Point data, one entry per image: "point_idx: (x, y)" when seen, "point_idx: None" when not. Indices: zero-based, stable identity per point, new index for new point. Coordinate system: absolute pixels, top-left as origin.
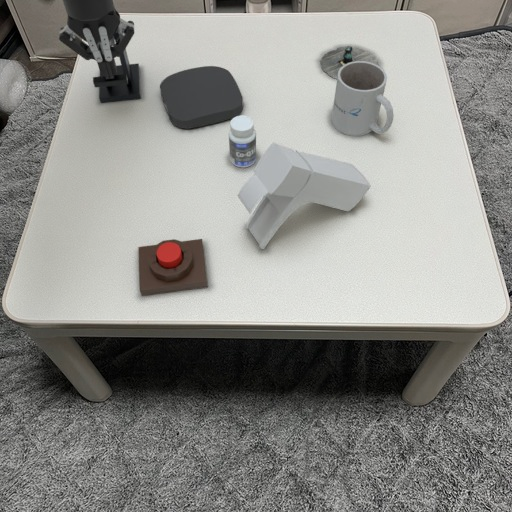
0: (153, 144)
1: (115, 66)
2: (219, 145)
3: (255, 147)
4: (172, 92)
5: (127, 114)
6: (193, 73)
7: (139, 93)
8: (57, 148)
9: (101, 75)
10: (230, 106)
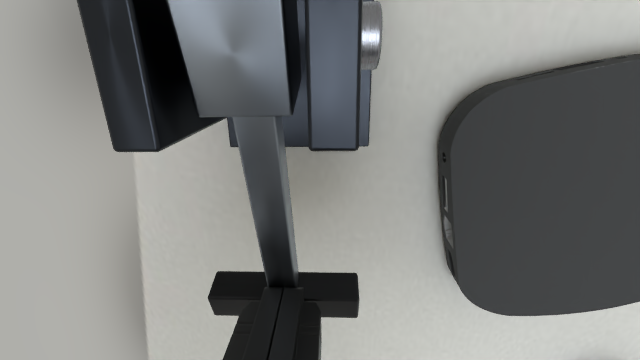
0: (386, 318)
1: (320, 356)
2: (545, 344)
3: None
4: (491, 203)
5: (322, 205)
6: (606, 105)
7: (367, 144)
8: (151, 294)
9: None
10: None
